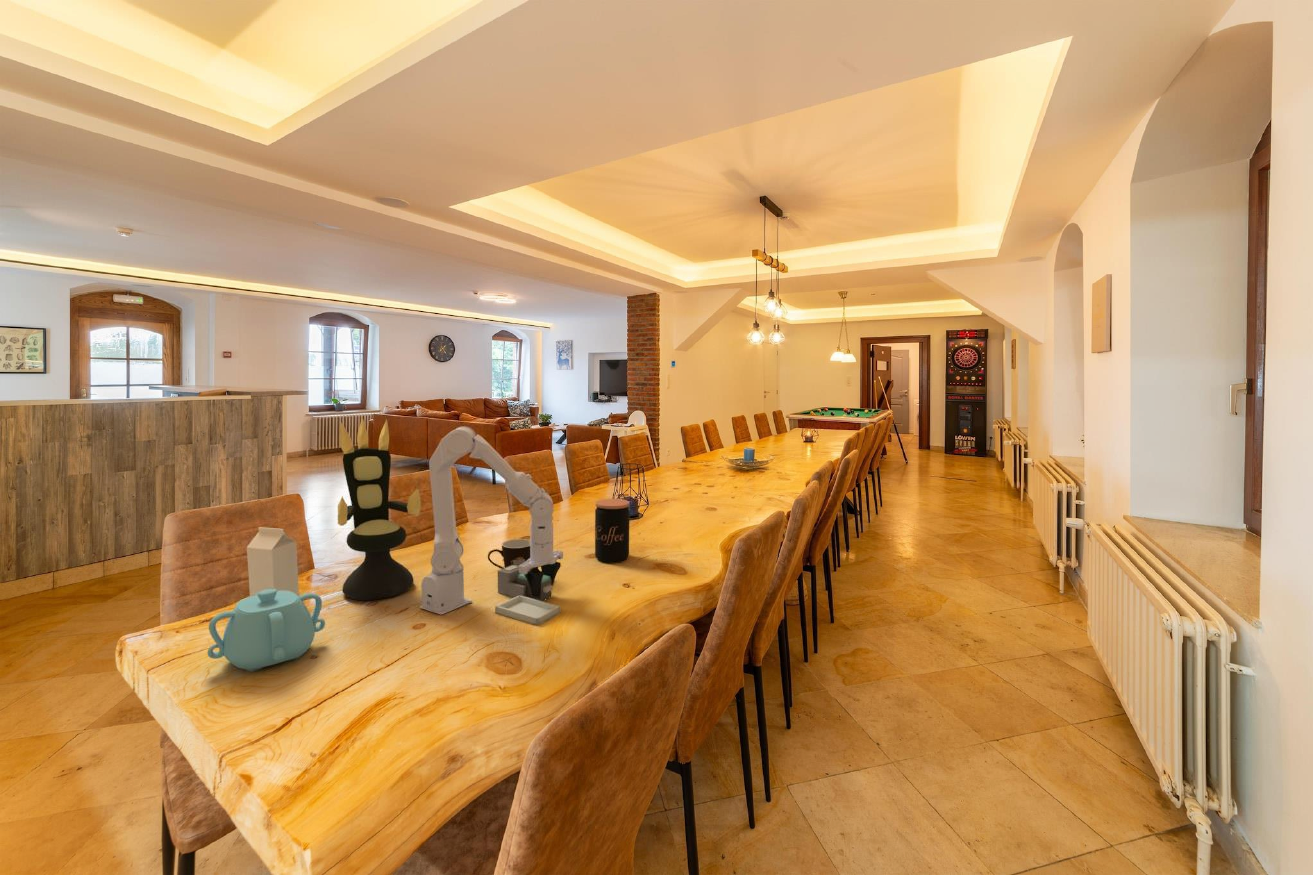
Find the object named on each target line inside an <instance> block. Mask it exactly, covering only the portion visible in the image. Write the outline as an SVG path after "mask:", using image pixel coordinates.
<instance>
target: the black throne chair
mask: <svg viewBox="0 0 1313 875" xmlns="http://www.w3.org/2000/svg"><path fill="white" fill-rule="evenodd" d="M359 424H360V425H359V428H358V432H357V435H356V436H357V438H356V442H357V447H358V448H357V449H356V448H354V444H353V440H352V437H351V436H350V434H349V432H348V431H347V429H346V427H345V425H344V424H343V423H342V422H341V421H340V422H339V437H338V439H339V440H338V441H339V446H340V448H341V450H342V453H343V457H342V464H343V465H342V466H343V472H344V476H345V481H346V484H347V489H348V494H349V498H350V503H351V505H348V503H346V501H345V499H344V497H343V495H342V496H341V498H340V501H339V502H338V504H337V524H338V525H339V526H341V527H342V526H345V525H346V524H347V523H348V521H350V520H351V519H352V517H353V527H354V528H353V530H351V531H350V532H349V533H348V534H347V537H346V543H347V544H346V545H347V546H348V547H349V548H350V549H351V550H353V551H356V552H361V553H364V555H365V556H364V558H363V559H364V560H363V561H362V563H361V564H359V565H358V566H357V568H355V569H354V570H353V571H352V572H351V573H350V574H349V575H348V576H347V578H346V580H345V581H344V582H343V585H342V594H344V595H345V597H347V598H349V599H352V600H357V601H375V600H376V601H377V600H382V599H388V598H391V597H392V598H393V597H395V596H398V595H401V594H403V593H404V592H407V591H408V590H409V589H410V588H411V587H412V585H413V584H414V581H415V580H414V577H413V574H412V573H411V571H410V569H408V568H407V567H405V566H404V565H403V564H401V563H399V562H398V561H397V560H395V558H393V557H392V555H391V551H390V550H392V549H395V548H397V547H399V546H401V545H403V543H404V542H405V540H406V538H407V532H406V529H405V528H404V527H402V526H401V525H399V524H398V523H396V522H394V521H392V520H390V510H394V511H398V512H402V513H407V514H409V515H411V516H417V517H418V516H420V511H421V506H422V503H421V502H422V500H421V495H420V491H419V487H418V488H416V489H415V491H413V492H412V493H411V495H410V496H409V497H408V500H407V502H403V501H400V500H399V501H398V500H390V498H389V495H390V494H389V493H390V492H389V491H390V479H391V478H390V475H391V465H392V464H391V461H392V460H391V459H392V458H391V457H392V456H391V454H390V451H389V450H388V449H389V445H390V444H389V443H390V432H389V425H388V424H389V423H388V419H387V418H386V419H385V422H384V424H383V427H382V429H381V431H380V434H379V438H378V448H373V447H371V448H370V447H369V434H368V432H367V427H366V424H365V420H364V418H363V417H361V421H360V423H359Z"/></svg>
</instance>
